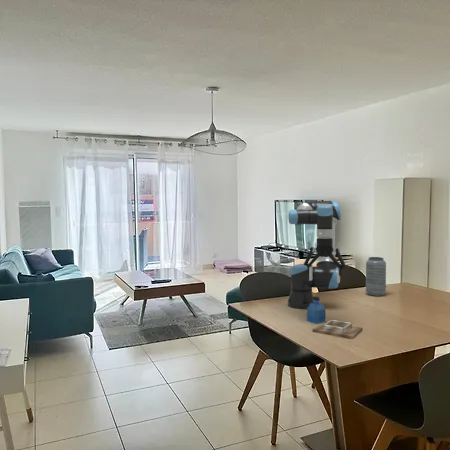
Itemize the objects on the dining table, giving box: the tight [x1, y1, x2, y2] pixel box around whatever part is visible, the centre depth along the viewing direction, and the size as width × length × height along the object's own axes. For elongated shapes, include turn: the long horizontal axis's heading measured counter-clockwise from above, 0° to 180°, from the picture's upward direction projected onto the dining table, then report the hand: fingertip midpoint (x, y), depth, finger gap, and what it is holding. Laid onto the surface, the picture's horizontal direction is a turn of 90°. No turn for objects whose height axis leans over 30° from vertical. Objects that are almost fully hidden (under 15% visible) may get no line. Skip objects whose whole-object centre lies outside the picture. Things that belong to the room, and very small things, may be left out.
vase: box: [365, 256, 387, 297], centre depth 256 cm, size 12×12×23 cm
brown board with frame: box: [311, 319, 363, 340], centre depth 187 cm, size 18×14×3 cm
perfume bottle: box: [306, 295, 327, 325], centre depth 202 cm, size 6×6×12 cm
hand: (324, 281), depth 202 cm, fingers open, 13 cm apart
